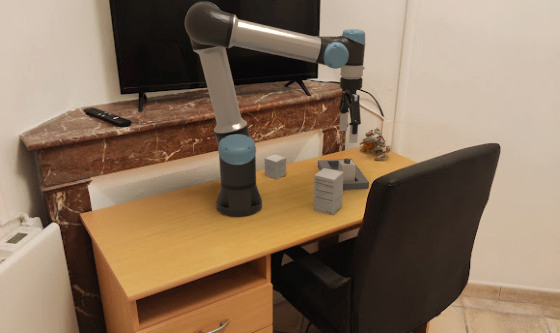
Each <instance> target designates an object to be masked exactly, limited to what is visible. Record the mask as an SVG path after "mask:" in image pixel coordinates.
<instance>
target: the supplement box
mask: <svg viewBox="0 0 560 333" xmlns="http://www.w3.org/2000/svg"><path fill="white" fill-rule="evenodd" d="M313 177H314V178H313V179H314V180H313V183H314V184H313V210H315V211H317V212H320V213H325V214H328V215H335V214H336V213H337V211H339V210H340V208H342V206H343V196H344V195H343V191H344V190H343V172H341V171H337V170H332V169H327V168H323V169H322V170H319V171H318V172H317V173H315V174H314V175H313Z"/></svg>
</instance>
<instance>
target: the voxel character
mask: <svg viewBox="0 0 560 333" xmlns="http://www.w3.org/2000/svg"><path fill="white" fill-rule="evenodd" d="M364 135H365V138H363V139H362V141H361V142H360V143H359V145H360V147H359V150H360V151H362V152H364V153H366V151H368V152H369V153H372V152H375V154H376V155H377V157H375V158H374V159H373V161H378V160H381V159H383V158H386V157H388V156H389V153H390V152H391V145H386V140H385V138H384V136H383V131H382V130H381V128H378V127H376V128H374V130H373V129H370V130H369V131H367V132H366V133H364ZM376 135H377V136H376ZM384 148H385V151H384ZM378 154H379V155H378Z"/></svg>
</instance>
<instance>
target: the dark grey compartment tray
mask: <svg viewBox="0 0 560 333" xmlns="http://www.w3.org/2000/svg"><path fill="white" fill-rule="evenodd" d="M344 159H345V158H342V159H339V158H337V159H320V160H317V168H318V169H319V171H320V170H322V169H323V168H327V169H332V170H337V171H338V167H339V160H344ZM350 159H351V160H352V161H353V162H354V163H355V161H354V160H353V158H350ZM355 165H356V168H355V182H343V191H356V190H368V188H369V189H370V182H369V180H368V179H367V177H366V176H365V175H364V173H363V172H362V171H361V169H360V168H359V167H358V165H357V164H356V163H355Z"/></svg>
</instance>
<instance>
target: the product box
mask: <svg viewBox="0 0 560 333" xmlns="http://www.w3.org/2000/svg"><path fill="white" fill-rule="evenodd" d="M286 175H287V157H285V156H282V155H279V154H276V153H275V154H271V155H270V156H266V157H264V176H265V177H268V178H271V179H273V178H274V180H278V179H281V178H282V177H284V176H286Z"/></svg>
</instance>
